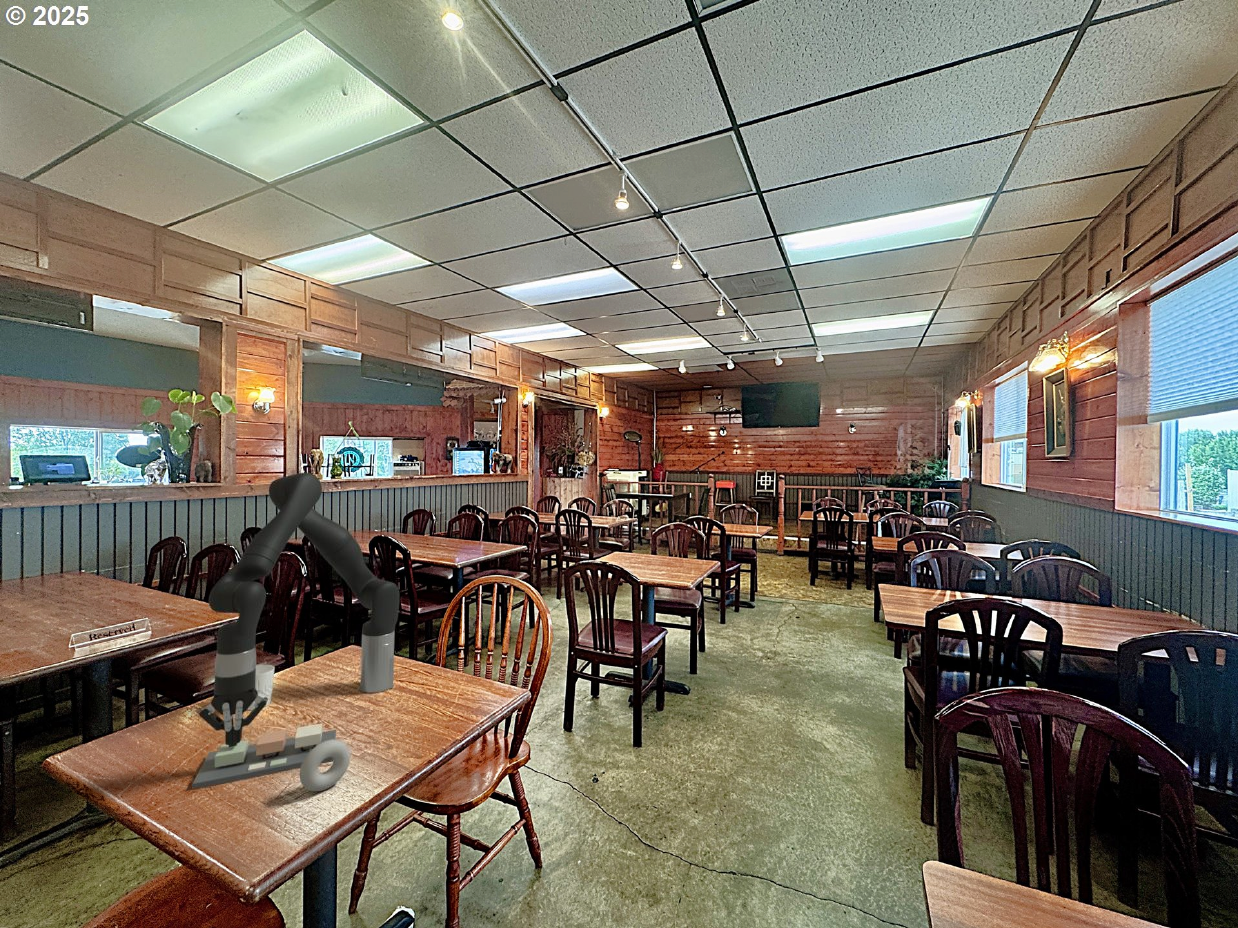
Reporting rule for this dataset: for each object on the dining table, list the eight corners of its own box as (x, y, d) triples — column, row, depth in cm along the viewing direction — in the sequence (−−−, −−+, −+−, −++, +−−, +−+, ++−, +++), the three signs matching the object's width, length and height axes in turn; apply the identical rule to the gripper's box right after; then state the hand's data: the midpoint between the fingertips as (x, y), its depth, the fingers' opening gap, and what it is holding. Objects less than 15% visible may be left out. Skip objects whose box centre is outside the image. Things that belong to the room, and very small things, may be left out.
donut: (345, 774, 114) (347, 729, 114) (352, 780, 112) (354, 735, 112) (295, 795, 106) (297, 747, 106) (302, 802, 104) (303, 754, 104)
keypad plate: (335, 734, 130) (336, 728, 130) (333, 760, 119) (333, 754, 119) (209, 757, 119) (209, 750, 119) (192, 789, 107) (192, 782, 107)
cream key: (321, 738, 125) (322, 723, 126) (320, 749, 121) (320, 733, 121) (297, 743, 123) (297, 727, 123) (294, 754, 118) (295, 737, 119)
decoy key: (286, 745, 122) (286, 729, 122) (282, 756, 117) (283, 740, 118) (260, 749, 120) (260, 733, 120) (255, 761, 115) (256, 744, 115)
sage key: (247, 756, 119) (248, 739, 119) (243, 768, 114) (243, 751, 114) (220, 761, 116) (221, 744, 116) (214, 773, 112) (215, 756, 112)
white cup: (260, 712, 140) (261, 676, 141) (232, 710, 141) (233, 674, 141) (279, 699, 148) (280, 665, 148) (253, 698, 148) (254, 664, 149)
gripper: (273, 658, 122) (270, 730, 122) (203, 667, 116) (201, 743, 116) (267, 670, 115) (265, 746, 115) (194, 680, 109) (191, 760, 109)
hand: (233, 744), depth 115 cm, fingers closed
